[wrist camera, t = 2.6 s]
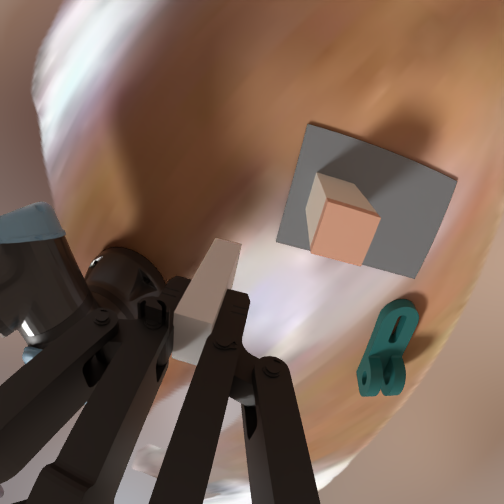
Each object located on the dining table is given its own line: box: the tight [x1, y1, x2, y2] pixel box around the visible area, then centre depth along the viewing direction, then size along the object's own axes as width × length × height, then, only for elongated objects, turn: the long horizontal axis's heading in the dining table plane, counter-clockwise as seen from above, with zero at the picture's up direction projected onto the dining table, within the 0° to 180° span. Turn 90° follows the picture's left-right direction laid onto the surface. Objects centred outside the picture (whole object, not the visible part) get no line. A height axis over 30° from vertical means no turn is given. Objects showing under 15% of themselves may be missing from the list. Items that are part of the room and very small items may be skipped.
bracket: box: [357, 299, 419, 397], centre depth 42 cm, size 18×7×8 cm, turn 179°
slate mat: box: [276, 124, 457, 279], centre depth 35 cm, size 22×16×1 cm
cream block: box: [305, 172, 381, 266], centre depth 30 cm, size 5×5×12 cm
